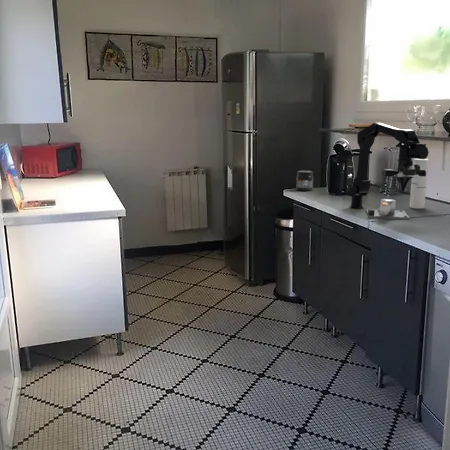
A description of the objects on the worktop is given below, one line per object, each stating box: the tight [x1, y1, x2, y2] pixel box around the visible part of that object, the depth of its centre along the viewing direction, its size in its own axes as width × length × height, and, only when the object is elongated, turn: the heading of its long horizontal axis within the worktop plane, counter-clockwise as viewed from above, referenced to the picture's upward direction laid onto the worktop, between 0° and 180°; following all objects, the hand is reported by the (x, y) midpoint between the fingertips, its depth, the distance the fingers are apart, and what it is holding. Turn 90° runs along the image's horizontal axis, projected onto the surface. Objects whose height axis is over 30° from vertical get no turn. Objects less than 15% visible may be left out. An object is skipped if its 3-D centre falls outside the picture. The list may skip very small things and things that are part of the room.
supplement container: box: [295, 170, 314, 192], centre depth 308 cm, size 10×10×12 cm
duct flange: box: [365, 208, 410, 220], centre depth 234 cm, size 16×18×3 cm
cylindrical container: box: [409, 158, 430, 210], centre depth 252 cm, size 7×7×25 cm
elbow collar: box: [377, 198, 397, 216], centre depth 230 cm, size 16×7×6 cm, turn 153°
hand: (402, 191), depth 227 cm, fingers closed
